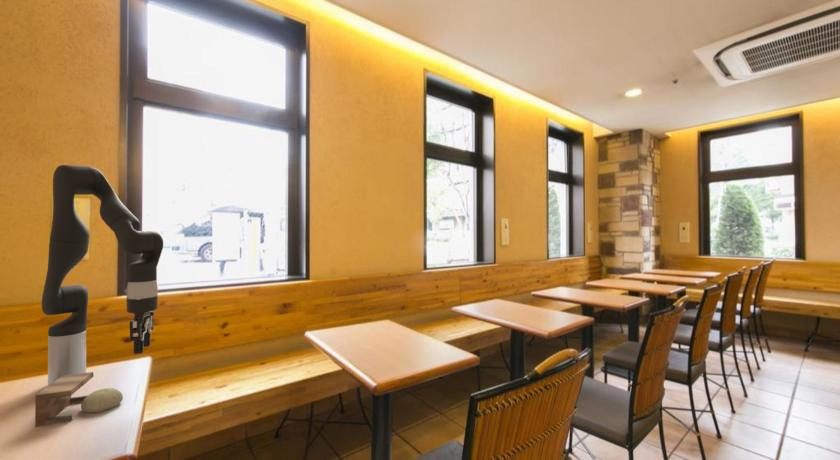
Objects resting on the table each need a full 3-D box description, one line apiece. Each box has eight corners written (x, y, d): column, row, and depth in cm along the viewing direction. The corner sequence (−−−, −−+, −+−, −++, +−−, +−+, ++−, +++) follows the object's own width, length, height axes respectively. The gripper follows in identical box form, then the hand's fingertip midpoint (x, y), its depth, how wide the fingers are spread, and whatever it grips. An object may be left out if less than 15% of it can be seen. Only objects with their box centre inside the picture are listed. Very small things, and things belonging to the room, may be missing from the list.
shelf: (62, 403, 106) (62, 375, 106) (93, 399, 109) (93, 371, 109) (35, 427, 93) (35, 395, 94) (70, 421, 96) (70, 390, 96)
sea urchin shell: (100, 410, 99) (84, 388, 100) (85, 427, 100) (69, 406, 101) (133, 395, 108) (118, 375, 109) (118, 411, 109) (103, 391, 110)
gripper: (135, 292, 113) (135, 344, 113) (118, 300, 100) (117, 359, 100) (163, 291, 116) (163, 341, 116) (150, 298, 103) (149, 355, 103)
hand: (142, 349), depth 108 cm, fingers open, 6 cm apart
